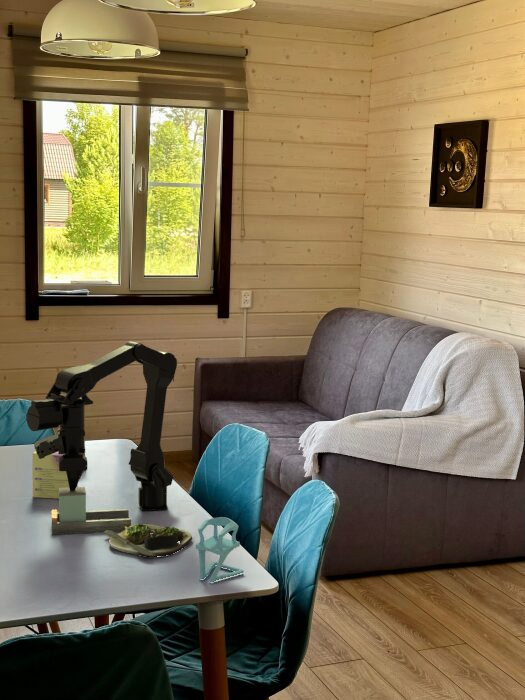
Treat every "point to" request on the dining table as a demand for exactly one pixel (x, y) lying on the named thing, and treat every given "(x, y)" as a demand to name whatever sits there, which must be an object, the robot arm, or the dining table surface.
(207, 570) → the chair
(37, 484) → the box
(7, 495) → the dining table surface
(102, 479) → the dining table surface
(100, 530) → the rail
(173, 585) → the dining table surface
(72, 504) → the module
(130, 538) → the salad plate
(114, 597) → the dining table surface
